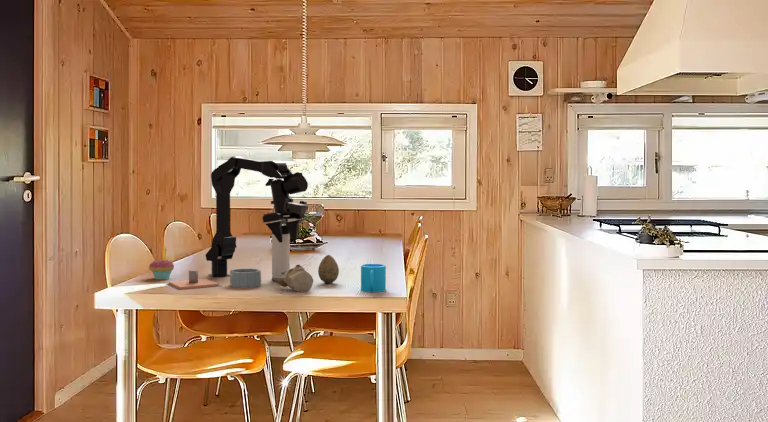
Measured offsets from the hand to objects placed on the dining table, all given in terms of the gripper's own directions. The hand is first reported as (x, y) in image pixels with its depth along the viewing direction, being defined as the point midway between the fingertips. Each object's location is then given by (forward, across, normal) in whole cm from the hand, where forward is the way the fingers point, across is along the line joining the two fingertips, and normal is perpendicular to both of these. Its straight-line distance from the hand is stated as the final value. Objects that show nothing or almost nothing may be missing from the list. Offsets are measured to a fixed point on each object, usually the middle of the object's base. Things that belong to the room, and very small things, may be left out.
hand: (287, 241), depth 243 cm
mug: (+21, +1, -28) cm, 35 cm away
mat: (+10, -16, +29) cm, 35 cm away
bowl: (+13, -9, +14) cm, 21 cm away
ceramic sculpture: (+17, -7, -5) cm, 19 cm away
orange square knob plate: (+9, -16, +29) cm, 35 cm away
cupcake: (+6, -9, +48) cm, 50 cm away
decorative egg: (+17, +9, -8) cm, 21 cm away
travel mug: (+13, +8, +10) cm, 18 cm away
